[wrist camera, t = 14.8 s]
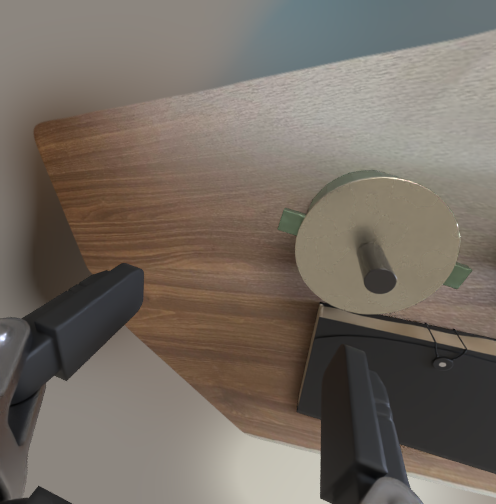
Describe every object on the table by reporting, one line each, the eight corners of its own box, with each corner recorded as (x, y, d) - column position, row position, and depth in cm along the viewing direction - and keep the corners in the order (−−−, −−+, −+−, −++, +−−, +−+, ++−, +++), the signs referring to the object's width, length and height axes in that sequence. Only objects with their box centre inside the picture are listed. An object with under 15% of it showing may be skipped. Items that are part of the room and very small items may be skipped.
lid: (325, 156, 24) (324, 162, 18) (493, 203, 22) (555, 228, 16) (279, 281, 31) (268, 315, 25) (403, 326, 28) (423, 375, 23)
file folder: (619, 384, 28) (508, 485, 39) (586, 355, 32) (492, 455, 43) (319, 317, 36) (295, 418, 46) (319, 300, 39) (297, 397, 50)
